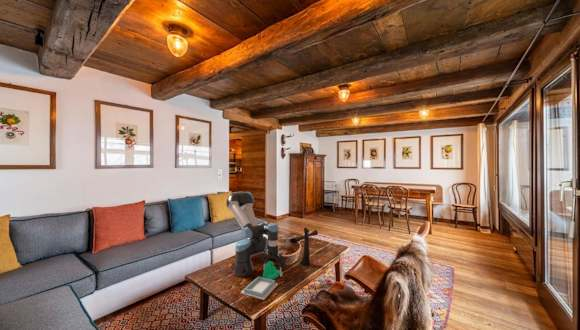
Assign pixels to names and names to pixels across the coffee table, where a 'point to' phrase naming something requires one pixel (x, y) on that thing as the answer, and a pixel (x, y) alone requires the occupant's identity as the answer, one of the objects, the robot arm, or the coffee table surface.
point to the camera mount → (270, 271)
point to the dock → (260, 288)
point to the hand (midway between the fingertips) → (273, 273)
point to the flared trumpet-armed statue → (305, 245)
